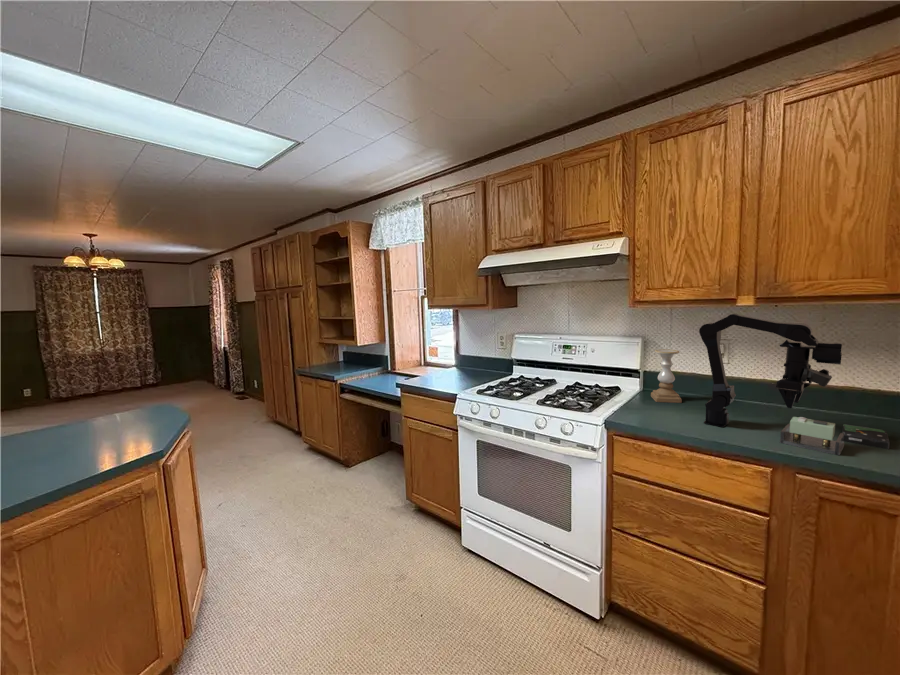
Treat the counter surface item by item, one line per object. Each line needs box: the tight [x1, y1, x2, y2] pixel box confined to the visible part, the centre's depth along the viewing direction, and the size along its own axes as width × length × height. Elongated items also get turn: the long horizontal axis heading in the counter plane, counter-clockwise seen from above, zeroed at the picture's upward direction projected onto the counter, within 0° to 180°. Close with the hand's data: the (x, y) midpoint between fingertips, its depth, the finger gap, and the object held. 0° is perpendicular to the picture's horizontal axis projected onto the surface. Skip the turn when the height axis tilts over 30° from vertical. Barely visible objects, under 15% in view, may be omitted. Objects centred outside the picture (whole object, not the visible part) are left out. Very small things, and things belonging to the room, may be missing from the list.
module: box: [789, 416, 836, 441], centre depth 122 cm, size 10×6×5 cm, turn 39°
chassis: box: [778, 423, 845, 456], centre depth 122 cm, size 14×11×4 cm
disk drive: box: [841, 423, 891, 450], centre depth 125 cm, size 10×3×15 cm
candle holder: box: [650, 348, 683, 404], centre depth 177 cm, size 11×11×24 cm
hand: (792, 405), depth 127 cm, fingers open, 9 cm apart
